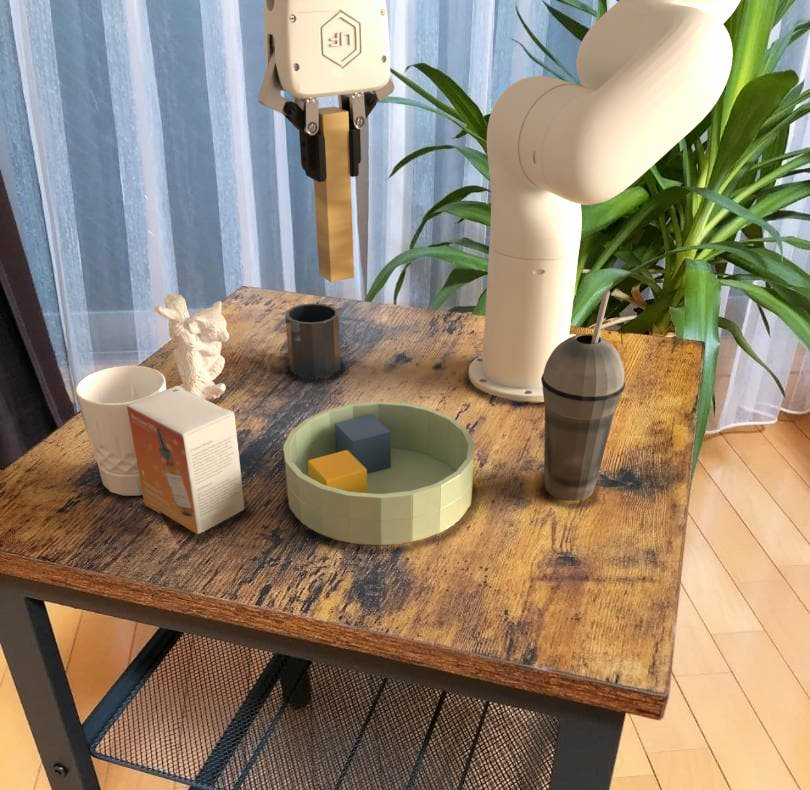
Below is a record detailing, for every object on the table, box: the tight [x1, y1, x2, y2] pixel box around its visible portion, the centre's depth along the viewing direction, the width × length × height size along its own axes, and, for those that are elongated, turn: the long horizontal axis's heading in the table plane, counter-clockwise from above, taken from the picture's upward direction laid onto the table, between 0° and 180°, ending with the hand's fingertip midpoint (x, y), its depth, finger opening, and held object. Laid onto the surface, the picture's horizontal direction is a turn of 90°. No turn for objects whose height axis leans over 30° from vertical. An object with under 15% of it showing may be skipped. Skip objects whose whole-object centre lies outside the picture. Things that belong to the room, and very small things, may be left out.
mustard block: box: [308, 450, 367, 493], centre depth 83 cm, size 4×4×4 cm
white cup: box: [74, 365, 167, 497], centre depth 85 cm, size 8×8×10 cm
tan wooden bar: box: [313, 106, 355, 283], centre depth 85 cm, size 3×3×15 cm
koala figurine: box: [154, 292, 230, 400], centre depth 99 cm, size 8×7×12 cm
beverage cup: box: [541, 289, 626, 502], centre depth 80 cm, size 7×7×20 cm
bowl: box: [282, 400, 476, 546], centre depth 84 cm, size 17×17×6 cm
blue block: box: [335, 414, 391, 474], centre depth 88 cm, size 4×4×4 cm
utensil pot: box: [285, 303, 342, 378], centre depth 106 cm, size 6×6×7 cm
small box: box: [127, 385, 245, 535], centre depth 81 cm, size 8×6×10 cm
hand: (331, 174), depth 84 cm, fingers closed on tan wooden bar, 2 cm apart
